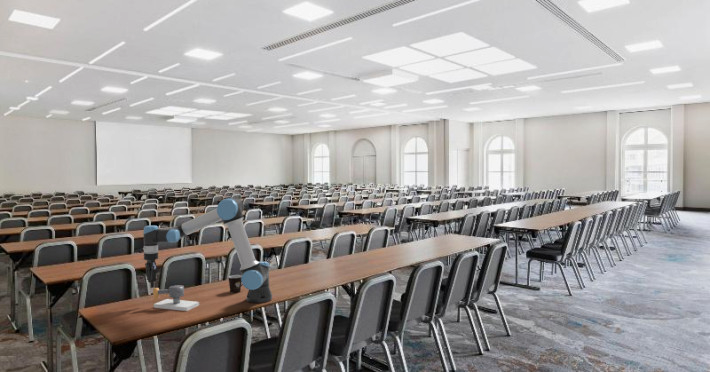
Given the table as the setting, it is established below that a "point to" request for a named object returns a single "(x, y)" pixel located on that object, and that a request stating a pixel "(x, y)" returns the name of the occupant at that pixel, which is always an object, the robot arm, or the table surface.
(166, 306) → the post base
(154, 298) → the orange knob joystick
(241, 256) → the robot arm
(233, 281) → the coffee mug
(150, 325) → the table surface
